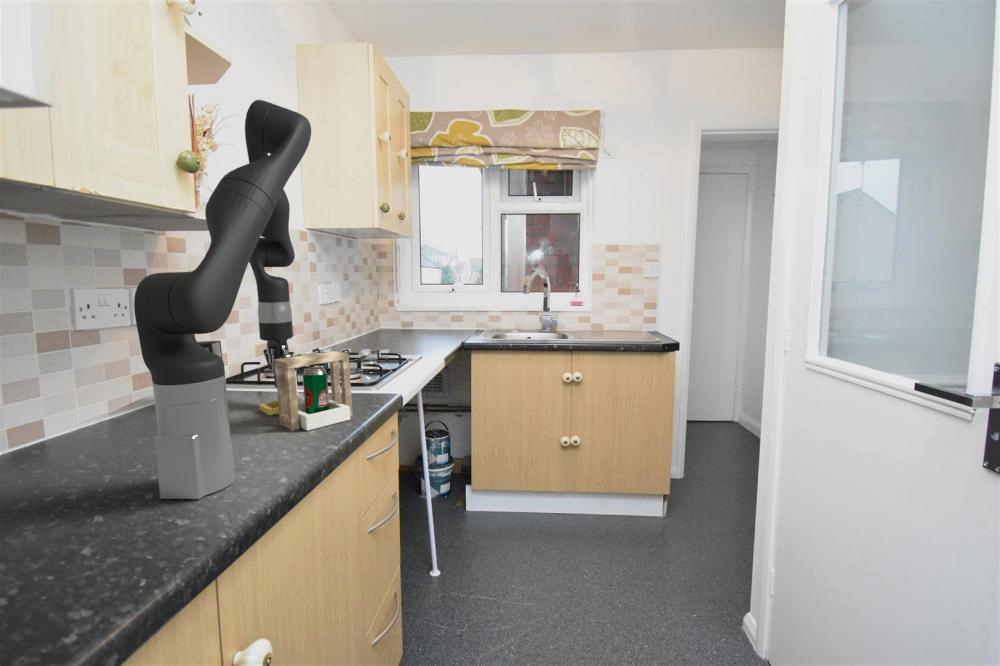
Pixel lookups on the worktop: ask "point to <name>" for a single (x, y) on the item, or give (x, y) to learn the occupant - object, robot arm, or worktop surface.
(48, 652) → the worktop surface
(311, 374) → the soda can
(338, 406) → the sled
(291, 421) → the tunnel
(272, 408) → the yellow rectangular frame
